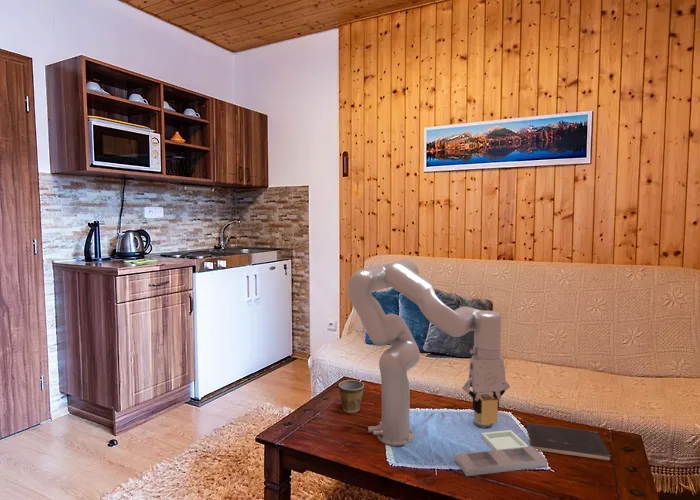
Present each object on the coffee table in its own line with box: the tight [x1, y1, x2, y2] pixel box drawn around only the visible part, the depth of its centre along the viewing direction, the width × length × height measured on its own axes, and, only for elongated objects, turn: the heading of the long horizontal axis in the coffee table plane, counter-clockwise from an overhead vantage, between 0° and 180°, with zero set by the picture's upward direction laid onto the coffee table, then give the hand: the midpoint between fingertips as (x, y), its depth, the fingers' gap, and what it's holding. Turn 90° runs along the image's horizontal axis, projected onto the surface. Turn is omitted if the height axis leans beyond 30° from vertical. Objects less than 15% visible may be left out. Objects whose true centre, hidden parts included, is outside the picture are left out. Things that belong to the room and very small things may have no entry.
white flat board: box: [454, 445, 548, 477], centre depth 132 cm, size 26×8×2 cm, turn 100°
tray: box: [480, 429, 529, 450], centre depth 143 cm, size 11×11×2 cm
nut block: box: [473, 393, 499, 424], centre depth 130 cm, size 5×5×7 cm
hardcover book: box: [525, 422, 612, 461], centre depth 144 cm, size 16×23×2 cm
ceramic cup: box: [338, 379, 365, 414], centre depth 171 cm, size 13×10×10 cm
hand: (485, 410), depth 130 cm, fingers closed on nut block, 5 cm apart
